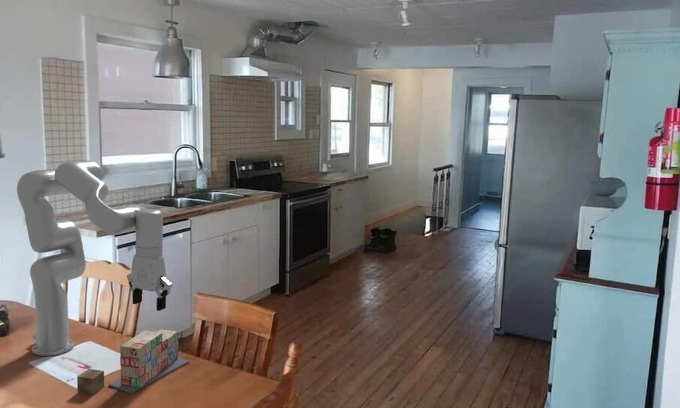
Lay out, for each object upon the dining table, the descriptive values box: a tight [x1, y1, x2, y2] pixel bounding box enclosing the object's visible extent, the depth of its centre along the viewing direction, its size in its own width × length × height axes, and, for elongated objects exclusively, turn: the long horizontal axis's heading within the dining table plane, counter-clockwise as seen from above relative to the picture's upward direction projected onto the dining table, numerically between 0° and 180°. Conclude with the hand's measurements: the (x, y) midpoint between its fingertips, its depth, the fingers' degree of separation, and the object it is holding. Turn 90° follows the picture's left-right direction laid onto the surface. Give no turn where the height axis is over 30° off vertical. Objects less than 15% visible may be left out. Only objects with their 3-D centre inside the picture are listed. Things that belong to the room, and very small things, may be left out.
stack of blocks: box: [119, 328, 179, 388], centre depth 168 cm, size 21×6×12 cm, turn 166°
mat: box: [108, 357, 190, 394], centre depth 168 cm, size 9×24×1 cm, turn 154°
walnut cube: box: [76, 368, 105, 396], centre depth 157 cm, size 5×5×5 cm
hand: (149, 306), depth 165 cm, fingers open, 9 cm apart
